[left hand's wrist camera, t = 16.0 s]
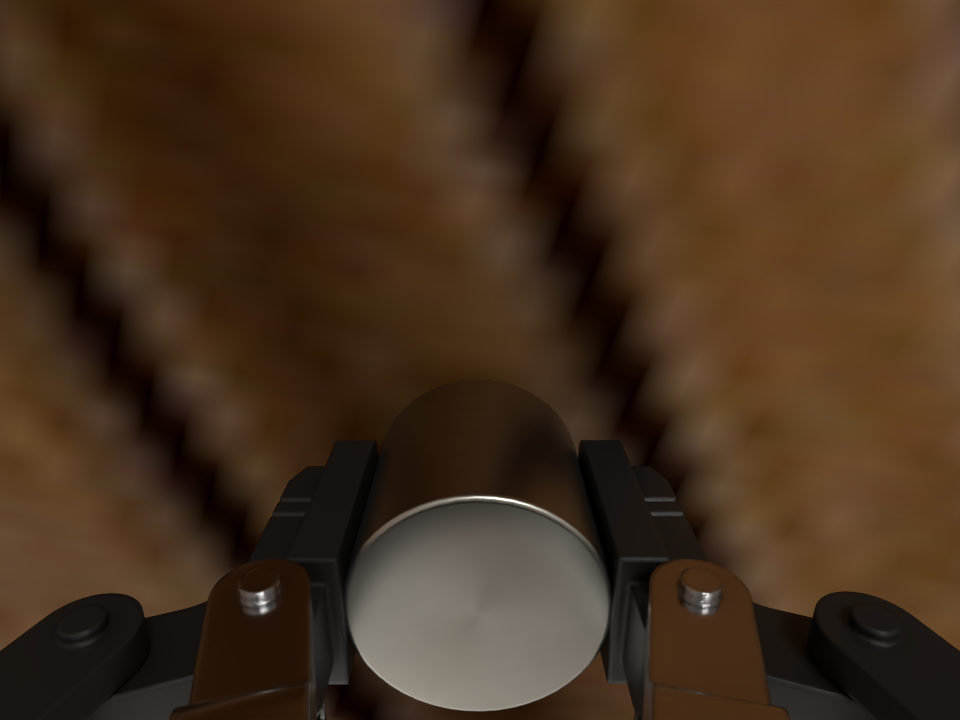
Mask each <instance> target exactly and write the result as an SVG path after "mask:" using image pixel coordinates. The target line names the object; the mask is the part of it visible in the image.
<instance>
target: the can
mask: <svg viewBox="0 0 960 720" xmlns="http://www.w3.org/2000/svg"><path fill="white" fill-rule="evenodd" d="M611 606H612V581H611V576H610V573H609V569H608V565H607V562H606V558H605V555H604V551H603V547H602V544H601V540H600V537H599V533H598V529H597V526H596V522H595V519H594V515H593V511H592V508H591V504H590V501H589V497H588V493H587V490H586V486H585V483H584V479H583V475H582V472H581V468H580V465H579V461H578V457H577V454H576V450H575V447H574V444H573V441H572V438H571V435H570V433H569V431H568V429H567V428H566V426H565V424H564V423H563V421H562V420H561V419H560V417H559V416H558V415H557V413H556V412H555V411H554V410H553V409H552V408H551V407H550V406H549V405H547V404H546V403H545V402H544V401H542V400H541V399H540V398H538V397H536V396H535V395H533V394H531V393H530V392H528V391H526V390H523V389H521V388H519V387H516V386H513V385H510V384H506V383H503V382H497V381H491V380H467V381H460V382H455V383H450V384H447V385H444V386H441V387H438V388H435V389H433V390H431V391H429V392H427V393H425V394H423V395H422V396H420V397H419V398H417V399H416V400H414V401H413V402H412V403H411V404H410V405H408V406H407V407H406V408H405V409H404V410H403V411H402V412H401V413H400V415H399V416H398V417H397V418H396V419H395V421H394V422H393V424H392V425H391V427H390V429H389V431H388V433H387V435H386V437H385V440H384V443H383V447H382V450H381V454H380V457H379V461H378V464H377V468H376V471H375V475H374V478H373V482H372V485H371V489H370V492H369V495H368V499H367V502H366V506H365V509H364V513H363V516H362V520H361V523H360V527H359V530H358V534H357V537H356V541H355V544H354V548H353V551H352V555H351V558H350V562H349V565H348V569H347V572H346V576H345V579H344V608H345V618H346V628H347V632H348V634H349V637H350V640H351V642H352V644H353V646H354V647H355V649H356V651H357V653H358V654H359V656H360V657H361V658H362V660H363V661H364V662H365V664H366V665H367V666H368V667H369V668H370V669H371V670H372V671H373V672H374V673H375V674H376V675H377V676H378V677H379V678H381V679H382V680H383V681H384V682H386V683H387V684H388V685H390V686H391V687H393V688H395V689H396V690H398V691H400V692H401V693H403V694H405V695H407V696H409V697H411V698H414V699H416V700H418V701H421V702H424V703H427V704H430V705H433V706H437V707H442V708H446V709H452V710H460V711H477V712H482V711H497V710H504V709H510V708H515V707H519V706H522V705H526V704H529V703H532V702H535V701H537V700H540V699H543V698H545V697H547V696H549V695H551V694H553V693H555V692H557V691H558V690H560V689H561V688H563V687H564V686H566V685H567V684H569V683H571V682H572V681H573V680H574V679H575V678H576V677H578V676H579V675H580V674H581V673H582V672H583V671H584V670H585V669H586V668H587V667H588V666H589V665H590V663H591V662H592V661H593V660H594V658H595V657H596V655H597V654H598V652H599V651H600V649H601V647H602V645H603V643H604V641H605V639H606V637H607V634H608V631H609V627H610V617H611Z"/></svg>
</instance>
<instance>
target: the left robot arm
mask: <svg viewBox="0 0 960 720" xmlns="http://www.w3.org/2000/svg"><path fill="white" fill-rule="evenodd" d="M378 461H379V456H378V447H377V443H376V441H336V443H335V445H334V447H333V449H332V452H331V454H330V456H329V459H328V461H327V463H326V466H307V467H306V468H305V469H304V470H302V471H301V472H300V473H299V474H297V475H296V476H295V477H294V478H292V479H291V480H290V481H289V482H288V484H287V486H286V488H285V490H284V492H283V494H282V496H281V498H280V502H278V504H277V506H276V508H275V510H274V511H273V517H270V519H269V521H268V523H267V525H266V527H265V529H264V531H263V533H262V535H261V537H260V539H259V541H258V543H257V545H256V547H255V549H254V551H253V553H252V555H251V557H250V559H249V561H248V563H247V564H245V565H242V566H240V567H238V568H236V569H234V570H232V571H230V572H229V573H228V574H226V575H225V576H223V577H222V578H221V579H220V580H219V581H218V582H217V583H216V584H215V586H214V587H213V588H212V590H211V592H210V594H209V597H208V601H206V602H204V603H202V604H199V605H196V606H193V607H190V608H186V609H183V610H178V611H174V612H169V613H165V614H161V615H156V616H152V617H147V618H145V617H144V613H143V609H142V606H141V604H140V603H139V602H138V601H137V600H136V599H134V598H133V597H130V596H128V595H124V594H116V593H108V594H99V595H93V596H89V597H86V598H82V599H79V600H77V601H74V602H71V603H69V604H67V605H65V606H63V607H61V608H59V609H57V610H56V611H54V612H52V613H51V614H49V615H48V616H47V617H45V618H44V619H42V620H41V621H40V622H38V623H37V624H36V625H34V626H33V627H32V628H30V629H29V630H28V631H26V632H25V633H24V634H22V635H21V636H20V637H18V638H17V639H16V640H14V641H13V642H12V643H10V644H9V645H8V646H6V647H5V648H4V649H2V650H1V651H0V720H327V719H326V710H325V702H324V698H325V695H326V691H327V687H328V684H348V683H349V679H350V675H351V670H352V666H353V661H354V657H355V653H356V649H355V647H354V646H353V644H352V642H351V640H350V637H349V634H348V632H347V628H346V618H345V608H344V579H345V576H346V572H347V569H348V565H349V562H350V558H351V555H352V551H353V548H354V544H355V541H356V537H357V534H358V530H359V527H360V523H361V520H362V516H363V513H364V509H365V506H366V502H367V499H368V495H369V492H370V489H371V485H372V482H373V478H374V475H375V471H376V468H377V464H378ZM578 461H579V465H580V468H581V472H582V475H583V479H584V483H585V486H586V490H587V493H588V497H589V501H590V504H591V508H592V511H593V515H594V519H595V522H596V526H597V529H598V533H599V537H600V540H601V544H602V547H603V551H604V555H605V558H606V562H607V565H608V569H609V573H610V576H611V581H612V606H611V617H610V627H609V631H608V634H607V637H606V639H605V641H604V643H603V645H602V647H601V649H600V652H601V656H602V661H603V665H604V670H605V674H606V679H607V683H627V684H628V688H629V692H630V696H631V700H632V704H633V707H634V709H635V710H634V719H633V720H960V651H959V650H958V649H956V648H955V647H954V646H952V645H951V644H950V643H948V642H947V641H946V640H944V639H943V638H942V637H940V636H939V635H938V634H936V633H935V632H934V631H932V630H931V629H930V628H928V627H927V626H926V625H924V624H923V623H922V622H920V621H919V620H918V619H916V618H915V617H914V616H912V615H911V614H909V613H908V612H906V611H905V610H903V609H902V608H900V607H898V606H896V605H894V604H892V603H890V602H888V601H886V600H883V599H881V598H878V597H875V596H871V595H868V594H863V593H857V592H835V593H830V594H828V595H826V596H824V597H822V598H821V599H820V600H819V601H818V602H817V604H816V607H815V610H814V614H813V618H811V617H807V616H802V615H798V614H794V613H789V612H785V611H780V610H776V609H772V608H768V607H764V606H761V605H758V604H756V603H753V602H752V597H751V594H750V592H749V590H748V588H747V587H746V586H745V584H744V583H743V582H742V581H741V580H740V579H739V578H738V577H737V576H735V575H734V574H732V573H731V572H730V571H728V570H726V569H724V568H722V567H720V566H718V565H715V564H712V563H709V562H708V561H707V559H706V557H705V555H704V553H703V551H702V549H701V547H700V545H699V543H698V541H697V539H696V537H695V535H694V533H693V531H692V529H691V527H690V525H689V523H688V521H687V519H686V517H685V516H683V511H682V509H681V507H680V505H679V503H678V502H676V497H675V495H674V493H673V491H672V489H671V487H670V485H669V483H668V481H667V480H666V479H665V478H663V477H662V476H661V475H660V474H658V473H657V472H656V471H655V470H653V469H652V468H651V467H650V466H631V464H630V462H629V459H628V457H627V455H626V452H625V450H624V448H623V445H622V443H621V441H620V440H581V442H580V445H579V453H578Z"/></svg>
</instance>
